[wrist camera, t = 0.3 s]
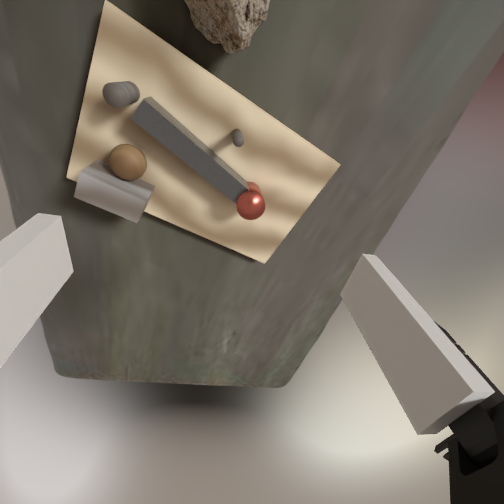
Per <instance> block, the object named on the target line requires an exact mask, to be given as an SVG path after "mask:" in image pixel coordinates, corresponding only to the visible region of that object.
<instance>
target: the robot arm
mask: <svg viewBox="0 0 504 504" xmlns="http://www.w3.org/2000/svg"><path fill="white" fill-rule="evenodd" d="M72 273H73V267H72V263H71V258H70V254H69V250H68V245H67V241H66V236H65V232H64V228H63V223H62V219H61V216H57V215H49V214H41V213H38V214H36V215H35V216H34V217H32V218H31V219H30V220H28V221H27V222H26V223H24V224H23V225H22V226H20V227H19V228H18V229H16V230H15V231H14V232H12V233H11V234H10V235H8V236H7V237H5V238H4V239H3V240H1V241H0V368H1V366H2V365H3V364H4V363H5V361H6V360H7V359H8V357H9V356H10V355H11V353H12V352H13V351H14V349H15V348H16V347H17V345H18V344H19V343H20V341H21V340H22V339H23V338H24V336H25V335H26V333H27V332H28V331H29V330H30V328H31V327H32V326H33V324H34V323H35V322H36V320H37V319H38V318H39V316H40V315H41V314H42V312H43V311H44V310H45V308H46V307H47V306H48V304H49V303H50V302H51V300H52V299H53V298H54V296H55V295H56V294H57V293H58V291H59V290H60V289H61V287H62V286H63V285H64V283H65V282H66V281H67V279H68V278H69V277H70V275H71V274H72ZM340 295H341V297H342V299H343V301H344V302H345V304H346V306H347V308H348V310H349V311H350V313H351V315H352V317H353V319H354V320H355V322H356V324H357V325H358V328H359V329H360V331H361V333H362V335H363V337H364V339H365V340H366V342H367V344H368V346H369V348H370V349H371V351H372V353H373V355H374V357H375V359H376V360H377V362H378V364H379V366H380V368H381V369H382V371H383V373H384V375H385V377H386V378H387V380H388V382H389V384H390V386H391V387H392V389H393V391H394V393H395V395H396V397H397V398H398V400H399V402H400V404H401V406H402V407H403V409H404V411H405V413H406V415H407V416H408V418H409V420H410V422H411V424H412V425H413V427H414V429H415V431H416V433H417V434H418V435H419V434H437V433H438V432H440V431H441V430H443V429H444V428H445V427H447V426H449V427H450V429H451V430H452V432H453V433H454V434H453V435H451V436H450V437H448V438H447V439H445V440H444V441H442V442H441V443H439V444H438V445H436V447H435V450H434V451H435V452H436V453H440V452H441V451H443V450H444V449H446V448H448V450H449V452H447V453H446V454H445V455H444V456H443V457H444V458H445V459H446V460H448V461H449V476H450V502H451V504H504V395H503V394H502V393H501V392H500V391H499V390H498V389H497V387H496V386H495V385H494V384H493V383H492V382H491V381H490V380H489V378H488V377H487V376H486V375H485V374H484V373H483V372H482V371H481V369H480V368H479V367H478V366H477V365H476V364H475V363H474V362H473V360H472V359H471V358H470V357H469V356H468V355H466V354H465V351H464V350H463V349H462V348H461V347H460V346H459V345H457V344H456V341H455V340H454V339H453V338H452V337H451V336H450V335H449V333H448V332H447V331H446V330H445V329H443V328H442V327H440V326H439V325H438V324H437V323H436V322H434V321H433V320H432V319H431V318H430V317H429V315H428V314H427V313H426V312H425V311H424V310H423V309H422V307H420V305H419V304H418V303H417V302H416V301H415V299H414V298H413V297H412V296H411V295H410V294H409V293H408V292H407V290H406V289H405V288H404V287H403V286H402V285H401V283H400V282H399V281H398V280H397V279H396V278H395V277H394V275H393V274H392V273H391V272H390V271H389V270H388V269H387V268H386V266H385V265H384V264H383V263H382V262H381V261H380V260H379V258H378V257H377V256H376V255H369V254H362V255H361V257H360V259H359V261H358V263H357V264H356V266H355V268H354V270H353V272H352V274H351V275H350V277H349V279H348V281H347V283H346V285H345V287H344V288H343V290H342V292H341V294H340Z"/></svg>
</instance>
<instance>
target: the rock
mask: <svg viewBox="0 0 504 504" xmlns="http://www.w3.org/2000/svg"><path fill="white" fill-rule="evenodd" d="M184 1H185V2H186V4H187V6H188V8H189V9H190V14H191V18H192V21H193V23H194V26H195V27H196V28H197V30H199V31H201V33H202V34H203V36H204V37H205V38H206V39H207V40H209V41H210V42H211V43H214V44H219V43H221V44H222V45H223V48H224V50H225V51H226V52H227V53H231V54H233V53H235V52H238V51H242V50H243V49H245V48H247V47H249V45H250V41H251V38H252V36H253V34H254V32H255V31H256V29H257V27H258V26H260V25H261V24H262V23H263V22H264V21H266V17H267V11H268V8H269V3H270V0H184Z"/></svg>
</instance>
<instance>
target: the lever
mask: <svg viewBox="0 0 504 504" xmlns="http://www.w3.org/2000/svg"><path fill="white" fill-rule="evenodd" d="M131 119H132V120H133V121H134V122H135V123H137V124H138V125H139V126H140V127H142V128H143V129H144V130H145V131H147V132H148V133H149V134H150V135H151V136H153V137H154V138H155V139H156V140H158V141H159V142H160V143H161V144H163V145H164V146H165V147H166V148H168V149H169V150H170V151H171V152H173V153H174V154H175V155H176V156H177V157H179V158H180V159H181V160H182V161H184V162H185V163H186V164H187V165H189V166H190V167H191V168H192V169H194V170H195V171H196V172H197V173H199V174H200V175H201V176H202V177H203V178H205V179H206V180H207V181H208V182H210V183H211V184H212V185H213V186H215V187H216V188H217V189H218V190H220V191H221V192H222V193H223V194H224V195H226V196H227V197H228V198H229V199H231V200H232V201H233V202H234V203H236V205H237V211H238V214H239V215H240V216H241V217H242V218H244V219H246V220H255V219H257V218H259V217H260V216H262V214H263V213H264V211H265V201H264V198H263V195H262V193H261V190H260V187H259V186H258V185H257V184H255V183H253V182H247V181H246V180H245V179H244V178H242V177H241V176H240V175H239V174H238V173H237V172H236V171H234V170H233V169H232V168H231V167H230V166H229V165H228V164H227V163H225V162H224V161H223V160H222V159H221V158H220V157H219V156H218V155H216V154H215V153H214V152H213V151H212V150H211V149H210V148H208V147H207V146H206V145H205V144H204V143H203V142H202V141H201V140H199V139H198V138H197V137H196V136H195V135H194V134H193V133H192V132H190V131H189V130H188V129H187V128H186V127H185V126H184V125H182V124H181V123H180V122H179V121H178V120H177V119H176V118H175V117H173V116H172V115H171V114H170V113H169V112H168V111H167V110H166V109H164V108H163V107H162V106H161V105H160V104H159V103H158V102H156V101H155V100H154V99H153V98H152V97H151V96H150V97H147V98H144V99H143V100H142V101H141V103H140V105H139V106H138V108H137V110H136V111H135V113H134V114H133V116H132V118H131Z"/></svg>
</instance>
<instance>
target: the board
mask: <svg viewBox="0 0 504 504" xmlns="http://www.w3.org/2000/svg"><path fill="white" fill-rule="evenodd" d="M150 96H151V97H152V98H153V99H154V100H155V101H156V102H158V103H159V104H160V105H161V106H162V107H163V108H164V109H166V110H167V111H168V112H169V113H170V114H171V115H172V116H173V117H175V118H176V119H177V120H178V121H179V122H180V123H181V124H182V125H184V126H185V127H186V128H187V129H188V130H189V131H190V132H192V133H193V134H194V135H195V136H196V137H197V138H198V139H199V140H201V141H202V142H203V143H204V144H205V145H206V146H207V147H208V148H210V149H211V150H212V151H213V152H214V153H215V154H216V155H218V156H219V157H220V158H221V159H222V160H223V161H224V162H225V163H227V164H228V165H229V166H230V167H231V168H232V169H233V170H234V171H236V172H237V173H238V174H239V175H240V176H241V177H242V178H244V179H245V180H246V181H247V182H253V183H255V184H257V185H258V186H259V187H260V190H261V193H262V195H263V198H264V201H265V211H264V213H263V214H262V216H260V217H259V218H257V219H255V220H246V219H244V218H242V217H241V216H240V215H239V214H238V211H237V205H236V203H234V202H233V201H232V200H231V199H229V198H228V197H227V196H226V195H224V194H223V193H222V192H221V191H220V190H218V189H217V188H216V187H215V186H213V185H212V184H211V183H210V182H208V181H207V180H206V179H205V178H203V177H202V176H201V175H200V174H199V173H197V172H196V171H195V170H194V169H192V168H191V167H190V166H189V165H187V164H186V163H185V162H184V161H182V160H181V159H180V158H179V157H177V156H176V155H175V154H174V153H173V152H171V151H170V150H169V149H168V148H166V147H165V146H164V145H163V144H161V143H160V142H159V141H158V140H156V139H155V138H154V137H153V136H151V135H150V134H149V133H148V132H147V131H145V130H144V129H143V128H142V127H140V126H139V125H138V124H137V123H135V122H134V121H133V120H132V119H131V118H132V116H133V114H134V113H135V111H136V110H137V108H138V106H139V105H140V103H141V101H142V100H143V99H144V98H147V97H150ZM339 166H340V164H339V163H338V162H336V161H335V160H334V159H332V158H331V157H329V156H328V155H326V154H325V153H324V152H322V151H321V150H319V149H318V148H316V147H315V146H314V145H312V144H311V143H309V142H308V141H307V140H305V139H304V138H302V137H301V136H299V135H298V134H297V133H295V132H294V131H292V130H291V129H289V128H288V127H287V126H285V125H284V124H282V123H281V122H280V121H278V120H277V119H275V118H274V117H272V116H271V115H270V114H268V113H267V112H265V111H264V110H262V109H261V108H260V107H258V106H257V105H255V104H254V103H252V102H251V101H250V100H248V99H247V98H245V97H244V96H243V95H241V94H240V93H238V92H237V91H235V90H234V89H233V88H231V87H230V86H228V85H227V84H225V83H224V82H223V81H221V80H220V79H218V78H217V77H215V76H214V75H213V74H211V73H210V72H208V71H207V70H206V69H204V68H203V67H201V66H200V65H198V64H197V63H196V62H194V61H193V60H191V59H190V58H188V57H187V56H186V55H184V54H183V53H181V52H180V51H178V50H177V49H176V48H174V47H173V46H171V45H170V44H169V43H167V42H166V41H164V40H163V39H161V38H160V37H159V36H157V35H156V34H154V33H153V32H151V31H150V30H149V29H147V28H146V27H144V26H143V25H141V24H140V23H139V22H137V21H136V20H134V19H133V18H132V17H130V16H129V15H127V14H126V13H124V12H123V11H122V10H120V9H119V8H117V7H116V6H114V5H113V4H111V3H110V2H108V1H107V0H105V2H104V7H103V12H102V16H101V21H100V25H99V30H98V35H97V39H96V44H95V48H94V53H93V58H92V62H91V67H90V71H89V76H88V80H87V85H86V90H85V94H84V99H83V103H82V108H81V113H80V117H79V122H78V126H77V131H76V136H75V140H74V145H73V149H72V154H71V158H70V163H69V168H68V172H67V177H66V178H69V179H71V180H73V181H76V182H77V186H76V190H75V194H74V197H75V198H77V199H80V200H82V201H85V202H87V203H90V204H92V205H94V206H97V207H99V208H102V209H104V210H107V211H109V212H111V213H114V214H116V215H119V216H121V217H123V218H126V219H128V220H131V221H133V222H136V223H138V221H139V219H140V218H141V216H142V214H143V212H144V211H145V212H147V213H149V214H152V215H154V216H156V217H158V218H161V219H163V220H165V221H168V222H170V223H172V224H175V225H177V226H179V227H181V228H184V229H186V230H188V231H191V232H193V233H195V234H198V235H200V236H202V237H205V238H207V239H209V240H211V241H214V242H216V243H218V244H221V245H223V246H225V247H228V248H230V249H232V250H234V251H237V252H239V253H241V254H244V255H246V256H248V257H251V258H253V259H255V260H257V261H260V262H262V263H264V264H265V263H266V261H267V260H268V259H269V257H270V256H271V255H272V253H273V252H274V251H275V250H276V248H277V247H278V246H279V244H280V243H281V242H282V240H283V239H284V238H285V236H286V235H287V234H288V233H289V231H290V230H291V229H292V227H293V226H294V225H295V223H296V222H297V221H298V220H299V218H300V217H301V216H302V214H303V213H304V212H305V210H306V209H307V208H308V207H309V205H310V204H311V203H312V201H313V200H314V199H315V197H316V196H317V195H318V194H319V192H320V191H321V190H322V188H323V187H324V186H325V184H326V183H327V182H328V180H329V179H330V178H331V177H332V175H333V174H334V173H335V171H336V170H337V169H338V167H339Z"/></svg>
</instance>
